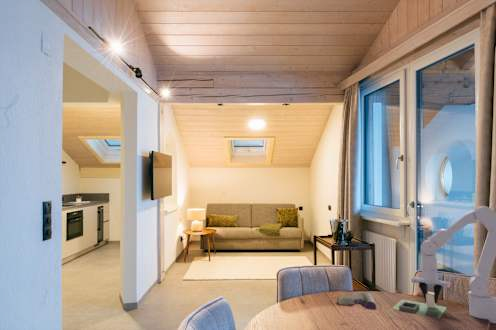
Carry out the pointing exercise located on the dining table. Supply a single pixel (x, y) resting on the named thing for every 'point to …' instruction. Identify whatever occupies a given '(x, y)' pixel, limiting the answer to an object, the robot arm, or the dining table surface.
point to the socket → (403, 308)
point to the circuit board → (424, 309)
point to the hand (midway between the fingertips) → (431, 302)
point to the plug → (430, 300)
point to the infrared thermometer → (358, 300)
